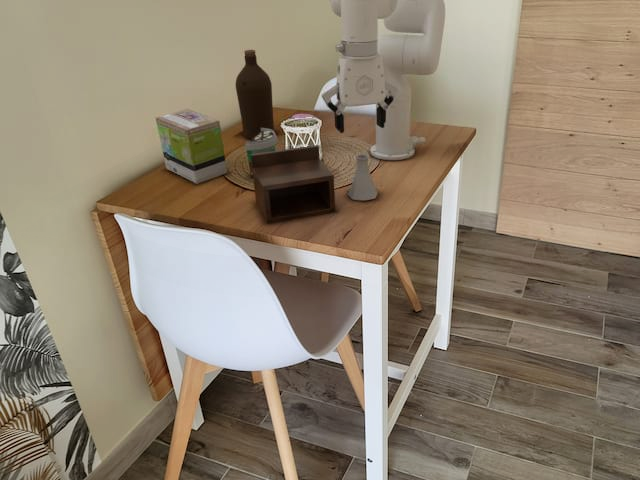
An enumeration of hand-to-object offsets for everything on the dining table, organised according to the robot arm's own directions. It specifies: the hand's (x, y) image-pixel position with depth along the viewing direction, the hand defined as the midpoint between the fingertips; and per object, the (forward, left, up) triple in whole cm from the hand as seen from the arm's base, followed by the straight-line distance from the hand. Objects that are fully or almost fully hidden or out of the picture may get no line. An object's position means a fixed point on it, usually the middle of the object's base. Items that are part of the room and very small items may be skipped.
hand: (360, 128), depth 129 cm
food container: (+18, -24, -17) cm, 34 cm away
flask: (0, 0, -17) cm, 17 cm away
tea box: (+36, -31, -17) cm, 50 cm away
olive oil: (+14, -55, -17) cm, 59 cm away
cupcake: (+4, -38, -17) cm, 42 cm away
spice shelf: (+17, 0, -17) cm, 23 cm away
